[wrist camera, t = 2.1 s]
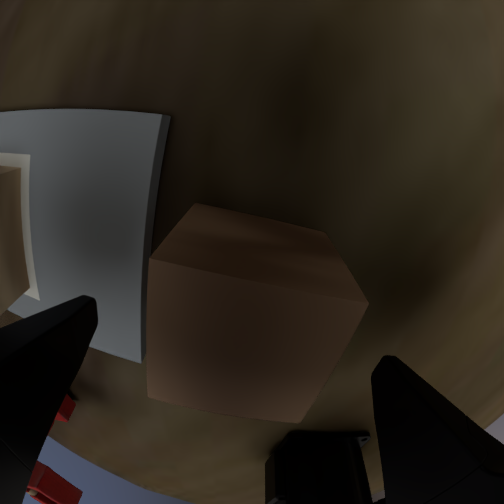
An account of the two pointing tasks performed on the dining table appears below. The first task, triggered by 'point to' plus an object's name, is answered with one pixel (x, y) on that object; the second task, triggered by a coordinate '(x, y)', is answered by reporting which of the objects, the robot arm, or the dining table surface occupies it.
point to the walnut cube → (246, 315)
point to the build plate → (88, 213)
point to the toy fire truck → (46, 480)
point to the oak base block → (11, 239)
